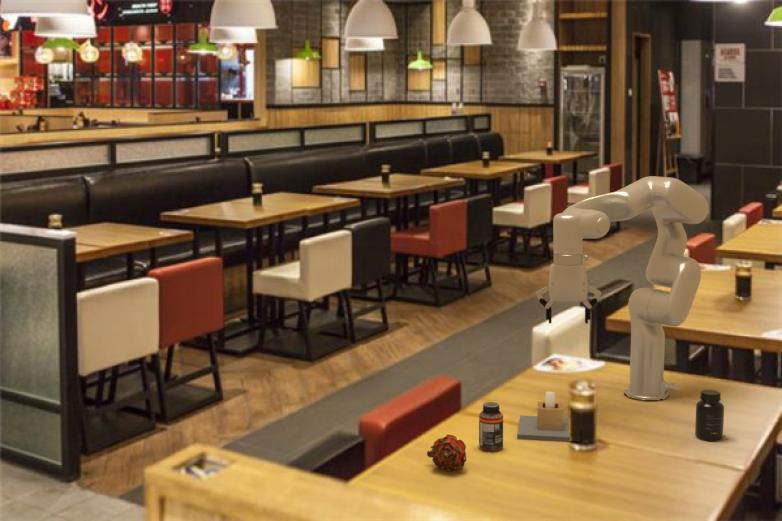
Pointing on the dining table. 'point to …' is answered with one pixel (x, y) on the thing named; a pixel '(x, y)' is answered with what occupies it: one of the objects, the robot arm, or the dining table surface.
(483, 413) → the supplement bottle
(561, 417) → the collar
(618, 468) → the dining table surface
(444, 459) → the dragon fruit
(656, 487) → the dining table surface
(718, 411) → the supplement bottle
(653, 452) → the dining table surface
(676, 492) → the dining table surface
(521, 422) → the shaft block
